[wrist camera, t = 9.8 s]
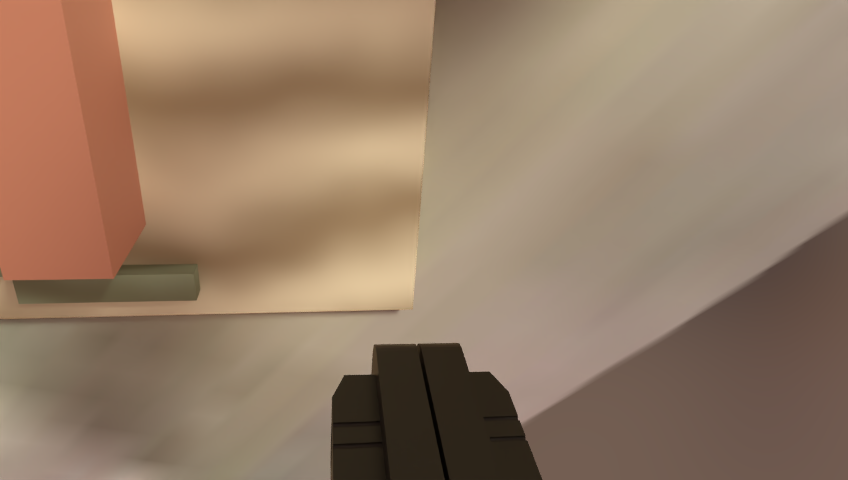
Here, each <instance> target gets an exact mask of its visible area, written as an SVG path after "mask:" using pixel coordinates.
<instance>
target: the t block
mask: <svg viewBox="0 0 848 480" xmlns="http://www.w3.org/2000/svg"><path fill="white" fill-rule="evenodd" d="M145 226H146V221H145V215H144V208H143V202H142V195H141V189H140V182H139V176H138V169H137V163H136V156H135V150H134V143H133V137H132V130H131V124H130V117H129V111H128V104H127V98H126V91H125V85H124V78H123V72H122V65H121V59H120V52H119V46H118V39H117V33H116V26H115V20H114V13H113V7H112V0H0V269H1V272H2V276H3V279H4V280H64V279H114V277H115V276H116V274H117V272H118V271H119V269H120V267H121V266H122V264H123V262H124V261H125V259H126V257H127V256H128V254H129V252H130V251H131V249H132V247H133V246H134V244H135V242H136V241H137V239H138V237H139V236H140V234H141V232H142V231H143V229H144V227H145Z"/></svg>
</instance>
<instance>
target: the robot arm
mask: <svg viewBox="0 0 848 480" xmlns="http://www.w3.org/2000/svg"><path fill="white" fill-rule="evenodd" d="M331 480H542V478H541V475H540V473H539V470H538V467H537V465H536V462H535V460H534V457H533V454H532V452H531V449H530V447H529V444H528V441H526V440H525V433H524V431H523V428H522V426H521V423H520V420H518V415H517V412H516V410H515V407H514V405H513V402H512V399H511V397H510V394H509V392H508V391H507V390H506V389H505V388H504V386H503V385H502V384H501V383H500V382H499V381H498V380H497V379H496V378H495V377H494V376H493V375H492V374H491V373H490V372H469V370H468V367H467V364H466V360H465V357H464V354H463V351H462V348H461V346H460V344H459V343H433V344H418V345H417V346H416V344H381V345H374V348H373V358H372V374H371V375H344V377H343V379H342V381H341V382H340V384H339V386H338V388H337V390H336V391H335V393H334V395H333V397H332V423H331Z"/></svg>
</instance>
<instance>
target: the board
mask: <svg viewBox="0 0 848 480" xmlns="http://www.w3.org/2000/svg"><path fill="white" fill-rule="evenodd" d="M435 3H436V0H112V7H113V13H114V20H115V26H116V33H117V39H118V46H119V52H120V59H121V65H122V72H123V78H124V85H125V91H126V98H127V104H128V111H129V117H130V124H131V130H132V137H133V143H134V150H135V156H136V163H137V169H138V176H139V182H140V189H141V195H142V202H143V208H144V215H145V221H146V226H145V227H144V229H143V231H142V232H141V234H140V236H139V237H138V239H137V241H136V242H135V244H134V246H133V247H132V249H131V251H130V252H129V254H128V256H127V257H126V259H125V261H124V262H123V264H122V266H121V267H120V269H119V271H118V272H117V274H116V276H115V277H114V279H64V280H4V279H3V276H2V272H1V269H0V319H27V318H69V317H111V316H153V315H195V314H237V313H279V312H321V311H363V310H405V309H413V297H414V284H415V270H416V257H417V244H418V230H419V217H420V204H421V190H422V177H423V163H424V150H425V137H426V123H427V110H428V97H429V83H430V70H431V57H432V43H433V30H434V17H435Z"/></svg>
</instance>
